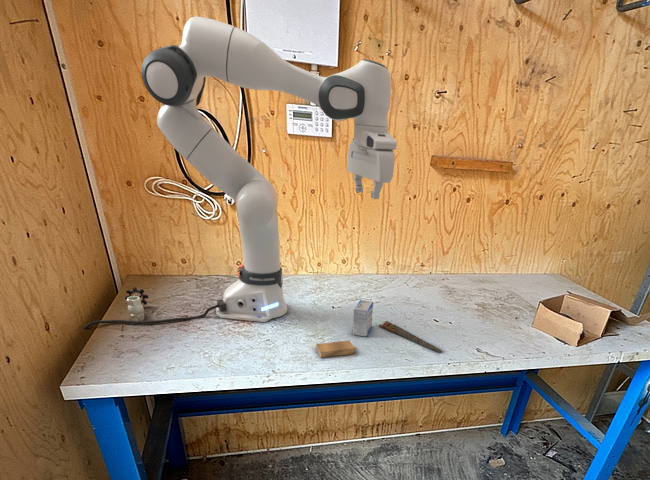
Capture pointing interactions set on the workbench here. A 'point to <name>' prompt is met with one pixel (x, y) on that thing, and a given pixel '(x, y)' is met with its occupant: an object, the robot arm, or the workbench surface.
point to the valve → (136, 304)
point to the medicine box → (362, 318)
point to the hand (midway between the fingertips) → (366, 195)
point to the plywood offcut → (335, 349)
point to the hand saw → (407, 335)
